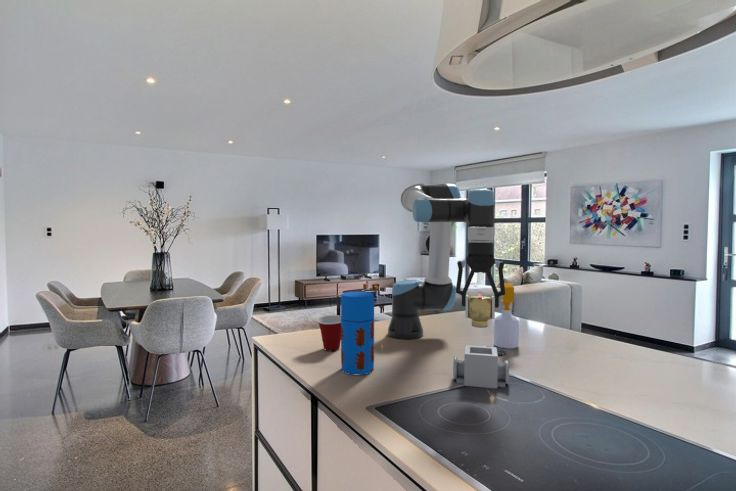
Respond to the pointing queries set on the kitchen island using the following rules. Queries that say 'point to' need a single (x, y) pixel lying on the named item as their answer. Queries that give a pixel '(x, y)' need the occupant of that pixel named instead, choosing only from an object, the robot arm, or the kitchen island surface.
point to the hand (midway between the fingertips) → (479, 317)
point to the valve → (480, 310)
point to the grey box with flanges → (481, 368)
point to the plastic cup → (330, 331)
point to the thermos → (357, 332)
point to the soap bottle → (506, 323)
